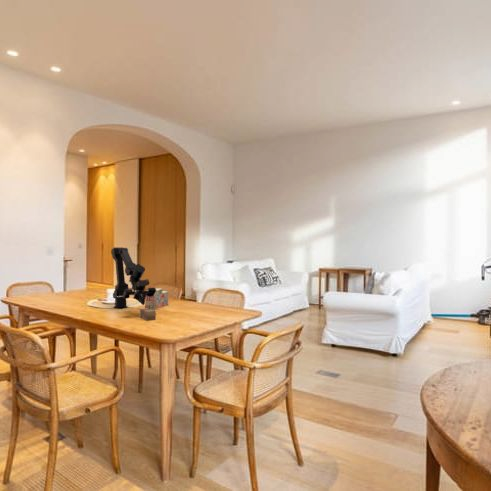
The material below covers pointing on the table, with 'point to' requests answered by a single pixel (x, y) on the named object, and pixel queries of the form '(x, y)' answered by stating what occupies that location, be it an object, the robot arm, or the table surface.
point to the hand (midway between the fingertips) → (143, 304)
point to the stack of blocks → (157, 299)
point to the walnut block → (147, 314)
